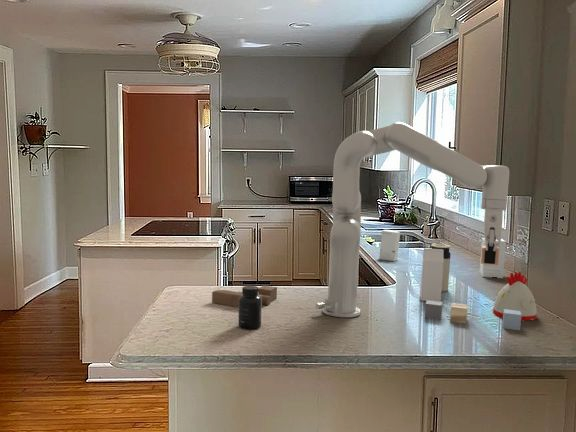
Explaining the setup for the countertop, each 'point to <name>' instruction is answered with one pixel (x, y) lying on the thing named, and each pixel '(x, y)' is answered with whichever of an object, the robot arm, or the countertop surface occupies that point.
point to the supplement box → (494, 270)
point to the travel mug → (444, 264)
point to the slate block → (511, 319)
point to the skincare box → (389, 245)
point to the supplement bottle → (250, 308)
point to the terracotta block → (495, 256)
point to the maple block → (458, 313)
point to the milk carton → (432, 275)
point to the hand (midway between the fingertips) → (489, 261)
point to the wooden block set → (232, 297)
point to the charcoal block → (433, 310)
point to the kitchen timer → (516, 298)
